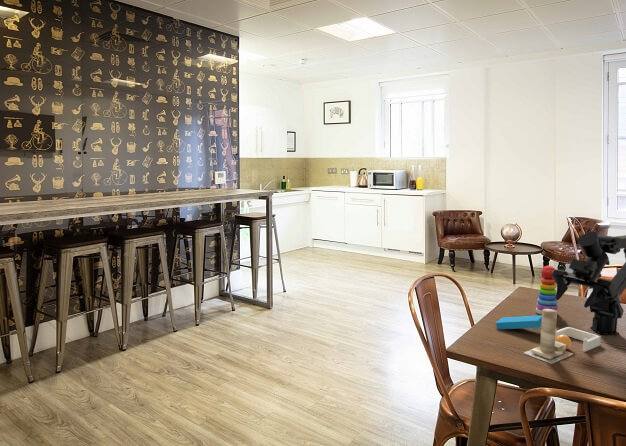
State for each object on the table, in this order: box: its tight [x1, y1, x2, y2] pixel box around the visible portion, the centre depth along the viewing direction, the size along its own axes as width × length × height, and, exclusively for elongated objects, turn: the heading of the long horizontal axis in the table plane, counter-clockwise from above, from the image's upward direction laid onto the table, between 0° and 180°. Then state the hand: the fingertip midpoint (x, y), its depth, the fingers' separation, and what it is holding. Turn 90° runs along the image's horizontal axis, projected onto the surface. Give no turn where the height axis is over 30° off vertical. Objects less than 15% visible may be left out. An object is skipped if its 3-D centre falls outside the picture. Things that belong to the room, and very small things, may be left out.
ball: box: [556, 335, 572, 350], centre depth 153 cm, size 4×4×4 cm
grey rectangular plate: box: [523, 349, 574, 365], centre depth 149 cm, size 12×9×1 cm
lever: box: [495, 314, 542, 332], centre depth 167 cm, size 7×7×18 cm
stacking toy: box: [535, 265, 559, 315], centre depth 185 cm, size 8×8×19 cm
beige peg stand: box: [530, 309, 567, 359], centre depth 148 cm, size 10×6×13 cm, turn 123°
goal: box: [555, 326, 602, 352], centre depth 157 cm, size 9×11×4 cm
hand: (570, 303), depth 154 cm, fingers open, 9 cm apart
